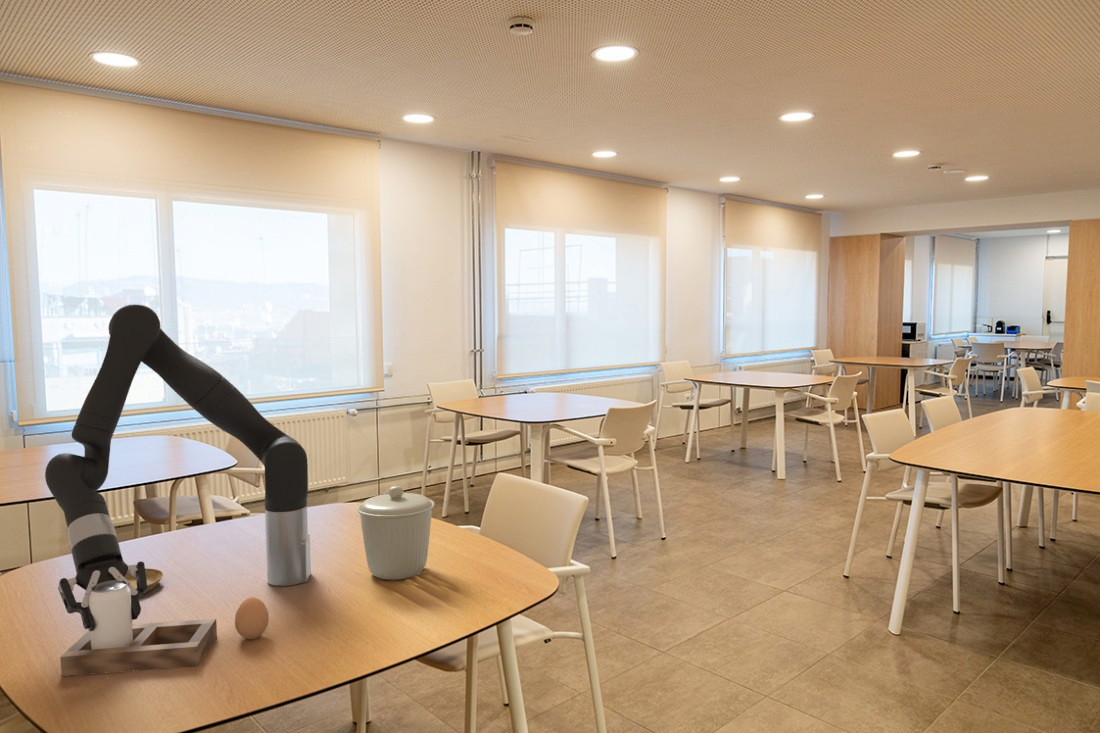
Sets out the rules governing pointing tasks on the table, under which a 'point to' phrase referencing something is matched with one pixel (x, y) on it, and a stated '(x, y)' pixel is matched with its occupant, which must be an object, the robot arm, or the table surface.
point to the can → (111, 615)
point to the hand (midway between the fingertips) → (114, 622)
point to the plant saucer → (147, 578)
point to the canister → (396, 533)
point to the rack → (144, 649)
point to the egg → (251, 618)
